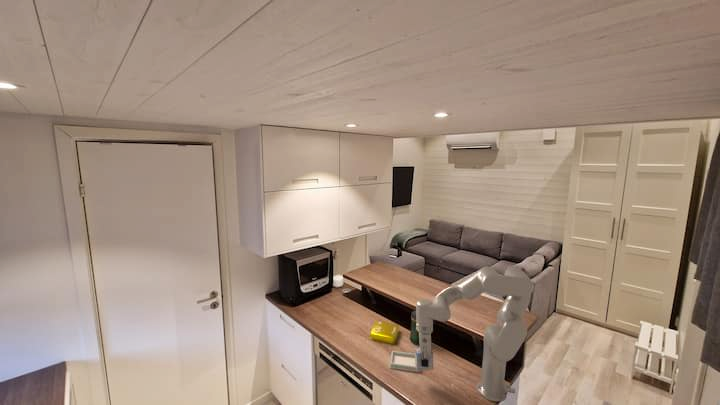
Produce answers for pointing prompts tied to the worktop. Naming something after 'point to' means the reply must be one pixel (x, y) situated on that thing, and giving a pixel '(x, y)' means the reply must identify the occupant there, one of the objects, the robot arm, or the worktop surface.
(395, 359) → the white rectangular tray
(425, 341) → the robot arm
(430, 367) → the medicine box
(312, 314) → the worktop surface
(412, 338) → the coffee jar
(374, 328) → the element tile
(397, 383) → the worktop surface
